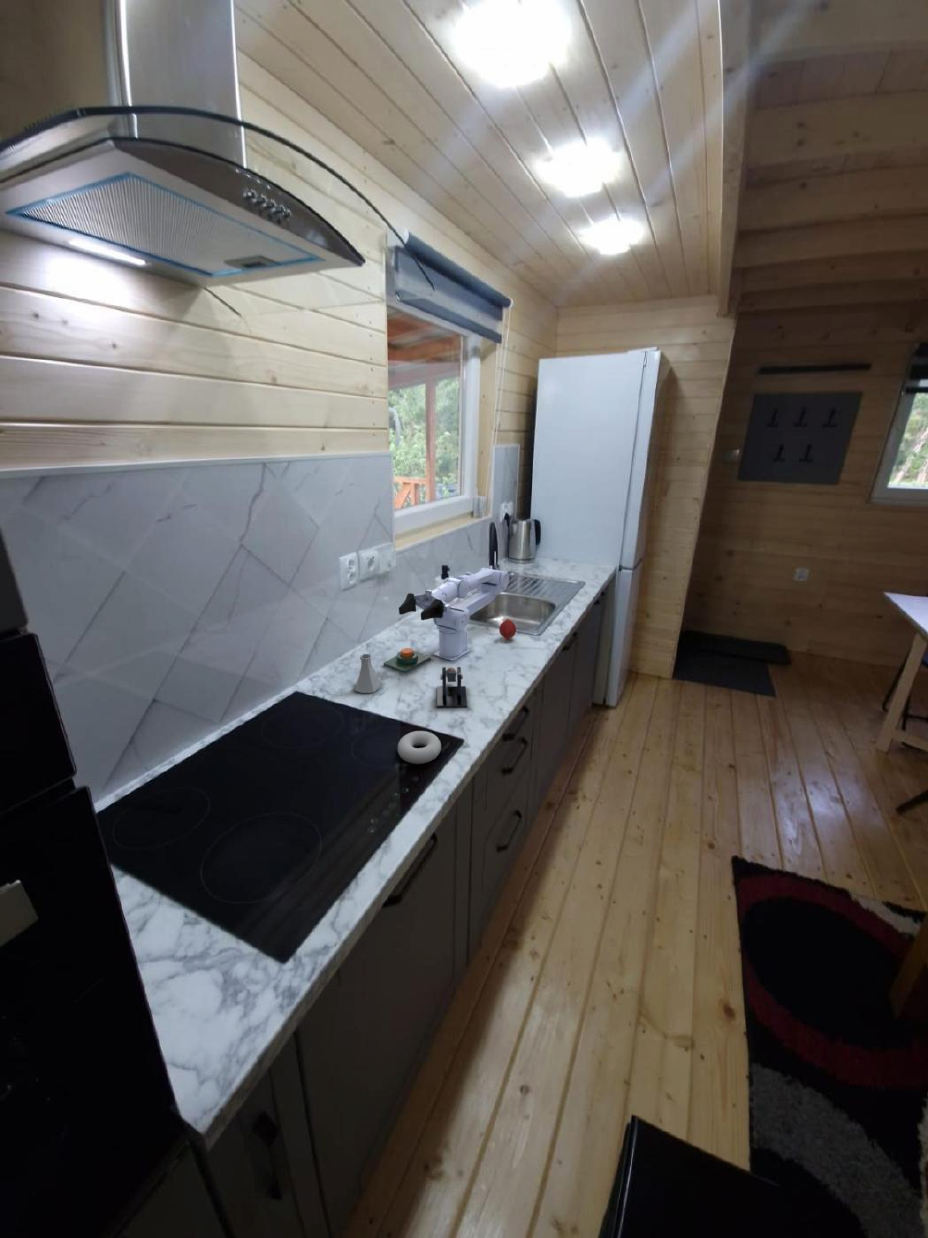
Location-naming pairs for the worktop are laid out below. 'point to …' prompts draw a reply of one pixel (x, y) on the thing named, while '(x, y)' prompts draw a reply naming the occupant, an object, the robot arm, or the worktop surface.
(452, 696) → the bracket
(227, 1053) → the worktop surface
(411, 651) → the button
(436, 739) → the donut
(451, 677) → the lever
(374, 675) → the flask
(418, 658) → the control block
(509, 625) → the onion
